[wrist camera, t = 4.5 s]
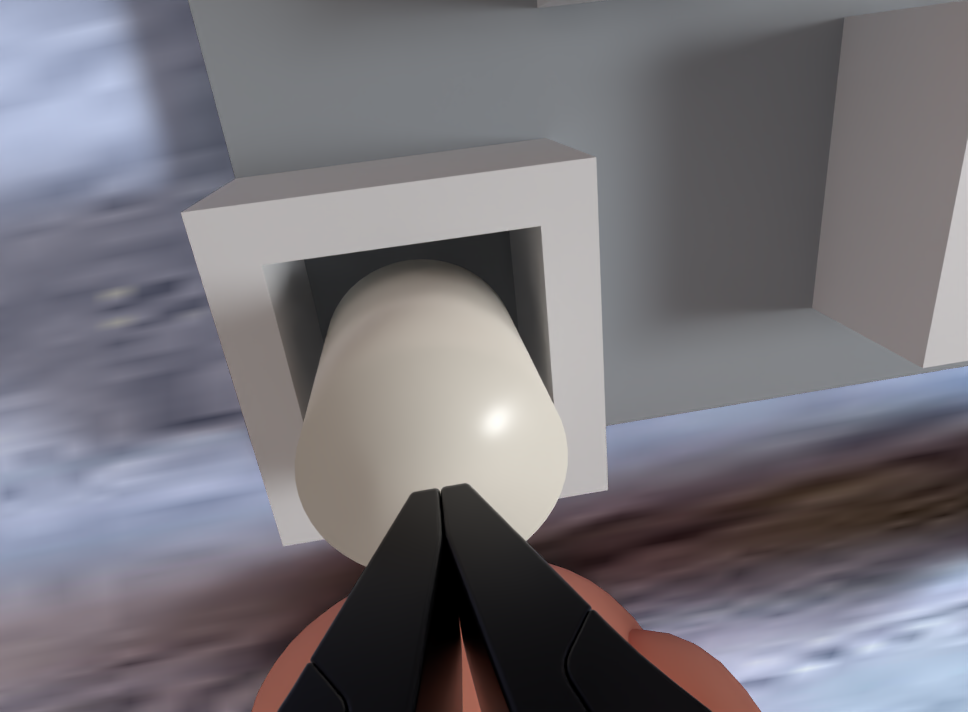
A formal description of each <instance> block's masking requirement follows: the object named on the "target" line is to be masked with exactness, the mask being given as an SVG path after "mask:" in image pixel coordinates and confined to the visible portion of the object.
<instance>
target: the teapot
mask: <svg viewBox="0 0 968 712" xmlns="http://www.w3.org/2000/svg"><path fill="white" fill-rule="evenodd" d="M548 564H549V563H548ZM549 565H550V566H551V567H552V568H553V569H554V570H555V571H556V572H557V573H558V574H559V575H560V576H561V577H562V578H563V579H564V580H565V581H566V582H567V583H568V584H569V585H570V586H571V587H572V588H573V589H574V590H575V591H576V592H577V593H578V594H579V595H580V596H581V597H582V598H583V599H584V600H585V601H586V602H587V603H588V604H589V605H590V606H591V608H592V610H595V611H597V612H598V613H599V614H600V616H601V617H602V618H603V619H604V620H605V621H606V622H607V623H608V624H609V625H610V626H611V627H612V628H613V629H614V630H615V631H617V632H618V633H619V634H620V635H621V636H622V637H623V638H624V639H625V640H626V641H627V642H628V643H629V644H630V645H632V646H633V647H634V648H635V649H636V650H637V651H638V652H639V653H640V654H641V655H642V656H644V657H645V658H646V659H647V660H648V661H650V662H651V663H652V664H653V665H655V666H656V667H657V668H658V669H659V670H661V671H662V672H663V673H664V674H666V675H667V676H668V677H669V678H670V679H672V680H673V681H674V682H675V683H677V684H678V685H679V686H680V687H682V688H683V689H684V690H685V691H687V692H688V693H689V694H691V695H692V696H693V697H694V698H696V699H697V700H698V701H700V702H701V703H702V704H703V705H705V706H706V707H707V708H708V709H710V710H711V711H712V712H761V711H760V709H759V708H758V707H757V705H756V704H755V702H754V701H753V700H752V698H751V697H750V695H749V694H748V692H747V691H746V690H745V689H744V687H743V686H742V685H741V684H740V683H739V682H738V681H737V680H736V679H735V677H734V676H733V675H732V674H731V673H730V672H729V671H728V670H727V669H726V668H725V666H724V665H723V664H722V663H721V662H719V661H718V660H717V659H715V658H714V657H713V656H711V655H710V654H709V653H707V652H706V651H705V650H703V649H702V648H700V647H699V646H697V645H695V644H694V643H691V642H689V641H686V640H684V639H681V638H679V637H677V636H674V635H672V634H669V633H662V632H655V631H648V630H643V629H642V628H641V627H640V625H639V624H638V623H637V621H636V620H635V619H634V618H633V616H632V615H630V614H629V613H628V612H627V611H626V610H625V609H624V608H623V607H622V606H621V605H620V604H619V603H618V602H617V601H616V600H615V599H614V598H613V597H612V596H611V595H610V594H609V593H607V592H606V591H604V590H603V589H601V588H600V587H599V586H597V585H596V584H594V583H593V582H592V581H590V580H588V579H586V578H584V577H582V576H580V575H578V574H576V573H574V572H572V571H570V570H567V569H564V568H562V567H559V566H556V565H552V564H549ZM346 599H347V597H346V598H344V599H343V600H341V601H339V602H338V603H336V604H335V605H334V606H332V607H331V608H329V609H328V610H327V611H326V612H324V613H323V614H322V615H320V616H319V617H318V618H317V619H315V620H314V621H313V622H312V623H310V624H309V625H308V626H307V627H306V628H305V629H304V630H303V631H302V632H301V633H300V634H299V635H298V636H297V637H296V638H295V639H294V640H293V641H292V642H291V643H290V644H289V645H288V647H287V648H286V649H285V650H284V652H283V653H282V654H281V656H280V657H279V658H278V660H277V661H276V662H275V664H274V665H273V667H272V668H271V670H270V672H269V673H268V675H267V677H266V679H265V680H264V682H263V684H262V686H261V688H260V690H259V691H258V694H257V697H256V700H255V703H254V706H253V709H252V712H277V710H278V709H279V707H280V706H281V704H282V703H283V701H284V700H285V698H286V697H287V695H288V693H289V692H290V690H291V689H292V687H293V686H294V684H295V682H296V681H297V679H298V678H299V676H300V674H301V673H302V671H303V669H304V668H305V666H306V664H307V663H311V662H310V659H311V657H312V655H313V653H314V652H315V650H316V648H317V647H318V645H319V643H320V642H321V640H322V639H323V637H324V635H325V634H326V632H327V630H328V629H329V627H330V625H331V624H332V622H333V620H334V619H335V617H336V616H337V614H338V612H339V611H340V609H341V607H342V606H343V604H344V602H345V601H346ZM459 622H460V621H459ZM460 631H461V627H460ZM461 641H462V694H463V712H481V709H480V706H479V702H478V698H477V694H476V691H475V687H474V683H473V679H472V676H471V672H470V668H469V664H468V661H467V657H466V652H465V648H464V644H463V639H462V633H461Z"/></svg>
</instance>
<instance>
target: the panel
mask: <svg viewBox="0 0 968 712" xmlns="http://www.w3.org/2000/svg"><path fill="white" fill-rule="evenodd" d="M188 2H189V6H190V10H191V14H192V17H193V21H194V25H195V29H196V32H197V36H198V40H199V44H200V47H201V51H202V55H203V59H204V62H205V66H206V70H207V74H208V78H209V81H210V85H211V89H212V93H213V96H214V100H215V104H216V108H217V111H218V115H219V119H220V123H221V126H222V130H223V134H224V138H225V141H226V145H227V149H228V153H229V156H230V160H231V164H232V168H233V172H234V175H235V179H234V180H232V181H231V182H229V183H227V184H226V185H224V186H223V187H221V188H219V189H218V190H216V191H214V192H213V193H211V194H210V195H208V196H206V197H205V198H203V199H202V200H200V201H198V202H197V203H195V204H194V205H192V206H190V207H189V208H187V209H186V210H184V211H182V212H181V215H182V219H183V222H184V225H185V228H186V232H187V235H188V238H189V241H190V245H191V248H192V251H193V254H194V258H195V261H196V264H197V267H198V271H199V274H200V277H201V280H202V284H203V287H204V290H205V293H206V297H207V300H208V303H209V306H210V310H211V313H212V316H213V319H214V323H215V326H216V329H217V332H218V336H219V339H220V342H221V345H222V349H223V352H224V355H225V358H226V362H227V365H228V368H229V371H230V375H231V378H232V381H233V384H234V388H235V391H236V394H237V397H238V401H239V404H240V407H241V411H242V414H243V417H244V420H245V424H246V427H247V430H248V433H249V437H250V440H251V443H252V446H253V450H254V453H255V456H256V459H257V463H258V466H259V469H260V472H261V476H262V479H263V482H264V485H265V489H266V492H267V495H268V498H269V502H270V505H271V508H272V511H273V515H274V518H275V521H276V524H277V528H278V531H279V534H280V537H281V541H282V544H283V546H289V545H295V544H300V543H306V542H312V541H318V540H323V539H324V538H323V537H322V536H321V535H320V534H319V532H318V531H317V530H316V528H315V527H314V526H313V525H312V523H311V522H310V520H309V518H308V516H307V514H306V513H305V511H304V509H303V506H302V504H301V501H300V498H299V496H298V491H297V486H296V481H295V457H296V449H297V445H298V441H299V437H300V434H301V430H302V426H303V422H304V418H305V415H306V411H307V407H308V403H309V399H310V395H311V392H312V388H313V384H314V380H315V376H316V373H317V369H318V365H319V361H320V357H321V354H322V350H323V346H324V342H325V338H326V335H327V331H328V327H329V324H330V320H331V318H332V316H333V313H334V311H335V309H336V307H337V306H338V304H339V303H340V301H341V299H342V298H343V297H344V296H345V294H346V293H347V292H348V291H349V290H350V288H352V287H353V286H354V285H355V284H356V283H357V282H358V281H359V280H361V279H362V278H364V277H365V276H367V275H368V274H370V273H371V272H373V271H375V270H377V269H379V268H381V267H384V266H387V265H390V264H392V263H396V262H401V261H406V260H415V259H429V260H438V261H443V262H448V263H451V264H454V265H457V266H460V267H462V268H464V269H466V270H468V271H470V272H472V273H474V274H475V275H477V276H478V277H480V278H481V279H482V280H484V281H485V282H486V283H487V284H488V285H489V286H490V287H491V288H492V289H493V290H494V291H495V292H496V293H497V294H498V296H499V297H500V299H501V300H502V302H503V303H504V305H505V307H506V309H507V311H508V313H509V315H510V317H511V319H512V321H513V323H514V325H515V327H516V329H517V331H518V333H519V335H520V337H521V339H522V341H523V343H524V345H525V347H526V349H527V351H528V353H529V355H530V357H531V359H532V361H533V364H534V366H535V368H536V370H537V372H538V374H539V376H540V378H541V380H542V382H543V384H544V386H545V388H546V390H547V392H548V394H549V396H550V398H551V400H552V402H553V404H554V406H555V408H556V410H557V412H558V414H559V416H560V418H561V421H562V424H563V427H564V431H565V434H566V440H567V447H568V466H567V472H566V478H565V482H564V485H563V488H562V491H561V494H560V496H559V498H565V497H571V496H577V495H582V494H588V493H594V492H600V491H605V490H608V476H607V447H606V426H608V425H614V424H620V423H626V422H632V421H638V420H644V419H651V418H657V417H663V416H669V415H675V414H681V413H687V412H693V411H699V410H705V409H711V408H717V407H723V406H729V405H735V404H741V403H747V402H753V401H759V400H765V399H771V398H777V397H783V396H789V395H795V394H801V393H807V392H813V391H819V390H825V389H831V388H837V387H843V386H849V385H855V384H861V383H867V382H873V381H879V380H885V379H891V378H897V377H904V376H910V375H916V374H922V373H928V372H934V371H940V370H946V369H952V368H958V367H964V366H968V0H188ZM559 498H558V499H559Z"/></svg>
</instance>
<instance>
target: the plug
mask: <svg viewBox="0 0 968 712" xmlns="http://www.w3.org/2000/svg"><path fill="white" fill-rule="evenodd" d="M567 466H568V447H567V440H566V434H565V431H564V427H563V424H562V421H561V418H560V416H559V414H558V412H557V410H556V408H555V406H554V404H553V402H552V400H551V398H550V396H549V394H548V392H547V390H546V388H545V386H544V384H543V382H542V380H541V378H540V376H539V374H538V372H537V370H536V368H535V366H534V364H533V361H532V359H531V357H530V355H529V353H528V351H527V349H526V347H525V345H524V343H523V341H522V339H521V337H520V335H519V333H518V331H517V329H516V327H515V325H514V323H513V321H512V319H511V317H510V315H509V313H508V311H507V309H506V307H505V305H504V303H503V302H502V300H501V299H500V297H499V296H498V294H497V293H496V292H495V291H494V290H493V289H492V288H491V287H490V286H489V285H488V284H487V283H486V282H485V281H484V280H482V279H481V278H480V277H478V276H477V275H475V274H474V273H472V272H470V271H468V270H466V269H464V268H462V267H460V266H457V265H454V264H451V263H448V262H443V261H438V260H429V259H415V260H406V261H401V262H396V263H392V264H390V265H387V266H384V267H381V268H379V269H377V270H375V271H373V272H371V273H370V274H368V275H367V276H365V277H364V278H362V279H361V280H359V281H358V282H357V283H356V284H355V285H354V286H353V287H352V288H350V290H349V291H348V292H347V293H346V294H345V296H344V297H343V298H342V299H341V301H340V303H339V304H338V306H337V307H336V309H335V311H334V313H333V316H332V318H331V320H330V324H329V327H328V331H327V335H326V338H325V342H324V346H323V350H322V354H321V357H320V361H319V365H318V369H317V373H316V376H315V380H314V384H313V388H312V392H311V395H310V399H309V403H308V407H307V411H306V415H305V418H304V422H303V426H302V430H301V434H300V437H299V441H298V445H297V449H296V457H295V481H296V486H297V491H298V496H299V498H300V501H301V504H302V506H303V509H304V511H305V513H306V514H307V516H308V518H309V520H310V522H311V523H312V525H313V526H314V527H315V528H316V530H317V531H318V532H319V534H320V535H321V536H322V537H323V538H324V539H325V540H326V541H327V542H328V543H329V544H330V545H331V546H333V547H334V548H335V549H336V550H338V551H339V552H340V553H342V554H343V555H345V556H346V557H348V558H350V559H352V560H353V561H355V562H357V563H359V564H361V565H364V566H367V565H368V563H369V561H370V560H371V558H372V556H373V555H374V553H375V551H376V550H377V548H378V547H379V545H380V543H381V542H382V540H383V538H384V537H385V535H386V533H387V532H388V530H389V528H390V527H391V525H392V524H393V522H394V520H395V519H396V517H397V515H398V514H399V512H400V510H401V509H402V507H403V505H404V504H405V502H406V501H407V499H408V497H409V496H410V494H411V493H413V492H415V491H421V490H427V489H433V488H437V489H439V491H440V493H441V489H442V488H443V487H445V486H450V485H456V484H462V483H467V484H469V485H471V486H472V487H473V488H474V489H475V490H476V491H477V492H478V493H479V494H480V495H481V496H482V497H483V498H484V499H485V500H486V501H487V502H488V503H489V504H490V505H491V506H492V508H493V509H494V510H495V511H496V512H497V513H498V514H499V515H500V516H501V517H502V518H503V519H504V520H505V521H506V522H507V523H508V524H509V525H510V526H511V527H512V528H513V529H514V530H515V531H516V532H517V533H518V534H519V535H520V536H521V537H522V538H523V539H524V540H525V541H527V540H528V539H529V538H530V537H531V536H532V535H533V534H534V533H535V532H536V531H537V530H538V529H539V528H540V526H541V525H542V524H543V523H544V522H545V520H546V519H547V518H548V516H549V515H550V513H551V511H552V510H553V508H554V507H555V505H556V503H557V500H558V498H559V496H560V494H561V491H562V488H563V485H564V482H565V478H566V472H567Z"/></svg>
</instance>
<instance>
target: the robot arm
mask: <svg viewBox="0 0 968 712" xmlns="http://www.w3.org/2000/svg"><path fill="white" fill-rule="evenodd" d="M459 621H460V622H459ZM460 627H461V631H460ZM461 633H462V639H463V644H464V648H465V652H466V657H467V661H468V664H469V668H470V672H471V676H472V679H473V683H474V687H475V691H476V694H477V698H478V702H479V706H480V709H481V712H712V711H711V710H710V709H708V708H707V707H706V706H705V705H703V704H702V703H701V702H700V701H698V700H697V699H696V698H694V697H693V696H692V695H691V694H689V693H688V692H687V691H685V690H684V689H683V688H682V687H680V686H679V685H678V684H677V683H675V682H674V681H673V680H672V679H670V678H669V677H668V676H667V675H666V674H664V673H663V672H662V671H661V670H659V669H658V668H657V667H656V666H655V665H653V664H652V663H651V662H650V661H648V660H647V659H646V658H645V657H644V656H642V655H641V654H640V653H639V652H638V651H637V650H636V649H635V648H634V647H633V646H632V645H630V644H629V643H628V642H627V641H626V640H625V639H624V638H623V637H622V636H621V635H620V634H619V633H618V632H617V631H615V630H614V629H613V628H612V627H611V626H610V625H609V624H608V623H607V622H606V621H605V620H604V619H603V618H602V617H601V616H600V614H599V613H598V612H597V611H595V610H592V608H591V606H590V605H589V604H588V603H587V602H586V601H585V600H584V599H583V598H582V597H581V596H580V595H579V594H578V593H577V592H576V591H575V590H574V589H573V588H572V587H571V586H570V585H569V584H568V583H567V582H566V581H565V580H564V579H563V578H562V577H561V576H560V575H559V574H558V573H557V572H556V571H555V570H554V569H553V568H552V567H551V566H550V565H549V564H548V563H547V562H546V561H545V560H544V559H543V558H542V557H541V556H540V555H539V554H538V553H537V552H536V551H535V550H534V549H533V548H532V547H531V546H530V545H529V544H528V543H527V542H526V541H525V540H524V539H523V538H522V537H521V536H520V535H519V534H518V533H517V532H516V531H515V530H514V529H513V528H512V527H511V526H510V525H509V524H508V523H507V522H506V521H505V520H504V519H503V518H502V517H501V516H500V515H499V514H498V513H497V512H496V511H495V510H494V509H493V508H492V506H491V505H490V504H489V503H488V502H487V501H486V500H485V499H484V498H483V497H482V496H481V495H480V494H479V493H478V492H477V491H476V490H475V489H474V488H473V487H472V486H471V485H469V484H467V483H462V484H456V485H450V486H445V487H443V488H442V489H441V493H440V491H439V489H437V488H433V489H427V490H421V491H415V492H413V493H411V494H410V496H409V497H408V499H407V501H406V502H405V504H404V505H403V507H402V509H401V510H400V512H399V514H398V515H397V517H396V519H395V520H394V522H393V524H392V525H391V527H390V528H389V530H388V532H387V533H386V535H385V537H384V538H383V540H382V542H381V543H380V545H379V547H378V548H377V550H376V551H375V553H374V555H373V556H372V558H371V560H370V561H369V563H368V565H367V566H366V568H365V570H364V571H363V573H362V574H361V576H360V578H359V579H358V581H357V583H356V584H355V586H354V588H353V589H352V591H351V593H350V594H349V596H348V597H347V599H346V601H345V602H344V604H343V606H342V607H341V609H340V611H339V612H338V614H337V616H336V617H335V619H334V620H333V622H332V624H331V625H330V627H329V629H328V630H327V632H326V634H325V635H324V637H323V639H322V640H321V642H320V643H319V645H318V647H317V648H316V650H315V652H314V653H313V655H312V657H311V659H310V662H311V663H307V664H306V666H305V668H304V669H303V671H302V673H301V674H300V676H299V678H298V679H297V681H296V682H295V684H294V686H293V687H292V689H291V690H290V692H289V693H288V695H287V697H286V698H285V700H284V701H283V703H282V704H281V706H280V707H279V709H278V710H277V712H463V694H462V641H461Z"/></svg>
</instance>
